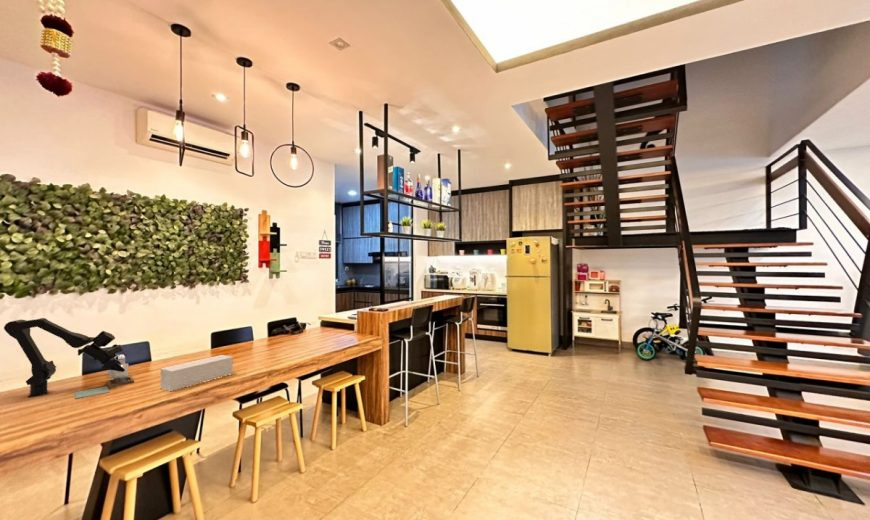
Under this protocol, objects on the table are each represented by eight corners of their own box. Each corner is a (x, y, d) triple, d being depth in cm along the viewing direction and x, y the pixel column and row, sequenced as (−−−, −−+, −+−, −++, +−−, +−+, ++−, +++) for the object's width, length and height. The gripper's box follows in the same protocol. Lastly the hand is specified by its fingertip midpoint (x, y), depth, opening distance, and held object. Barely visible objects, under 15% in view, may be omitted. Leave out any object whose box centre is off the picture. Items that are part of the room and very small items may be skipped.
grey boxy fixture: (108, 374, 206) (108, 356, 206) (123, 371, 211) (123, 354, 211) (109, 378, 199) (110, 359, 199) (125, 375, 204) (125, 357, 204)
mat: (74, 393, 175) (75, 392, 175) (107, 386, 184) (107, 386, 184) (75, 399, 167) (75, 398, 167) (109, 392, 175) (109, 391, 175)
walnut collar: (107, 383, 189) (107, 380, 189) (131, 378, 197) (131, 376, 197) (109, 387, 183) (109, 384, 183) (133, 382, 190) (134, 380, 190)
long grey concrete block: (222, 372, 210) (222, 354, 210) (232, 375, 204) (232, 356, 205) (160, 388, 181) (160, 368, 182) (170, 392, 176) (171, 371, 177)
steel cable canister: (112, 383, 190) (113, 365, 190) (127, 380, 194) (127, 362, 194) (113, 385, 185) (114, 367, 186) (128, 383, 190) (129, 364, 190)
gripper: (111, 343, 181) (138, 360, 188) (112, 338, 194) (137, 354, 202) (89, 361, 175) (118, 378, 182) (92, 354, 189) (119, 370, 196)
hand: (124, 369), depth 191 cm, fingers closed on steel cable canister, 6 cm apart
